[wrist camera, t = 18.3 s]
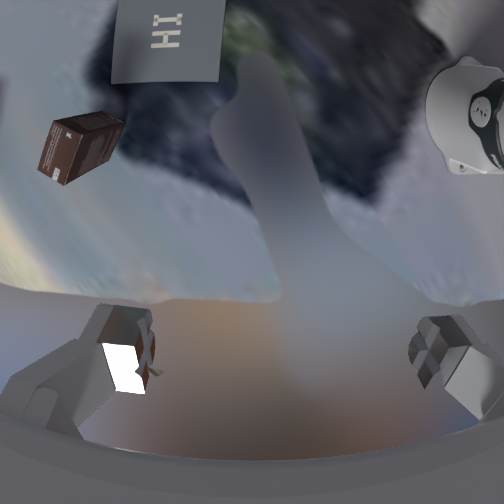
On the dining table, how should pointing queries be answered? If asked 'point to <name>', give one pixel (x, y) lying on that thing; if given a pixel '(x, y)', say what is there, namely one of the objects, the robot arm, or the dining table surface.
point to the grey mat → (167, 41)
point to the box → (79, 145)
